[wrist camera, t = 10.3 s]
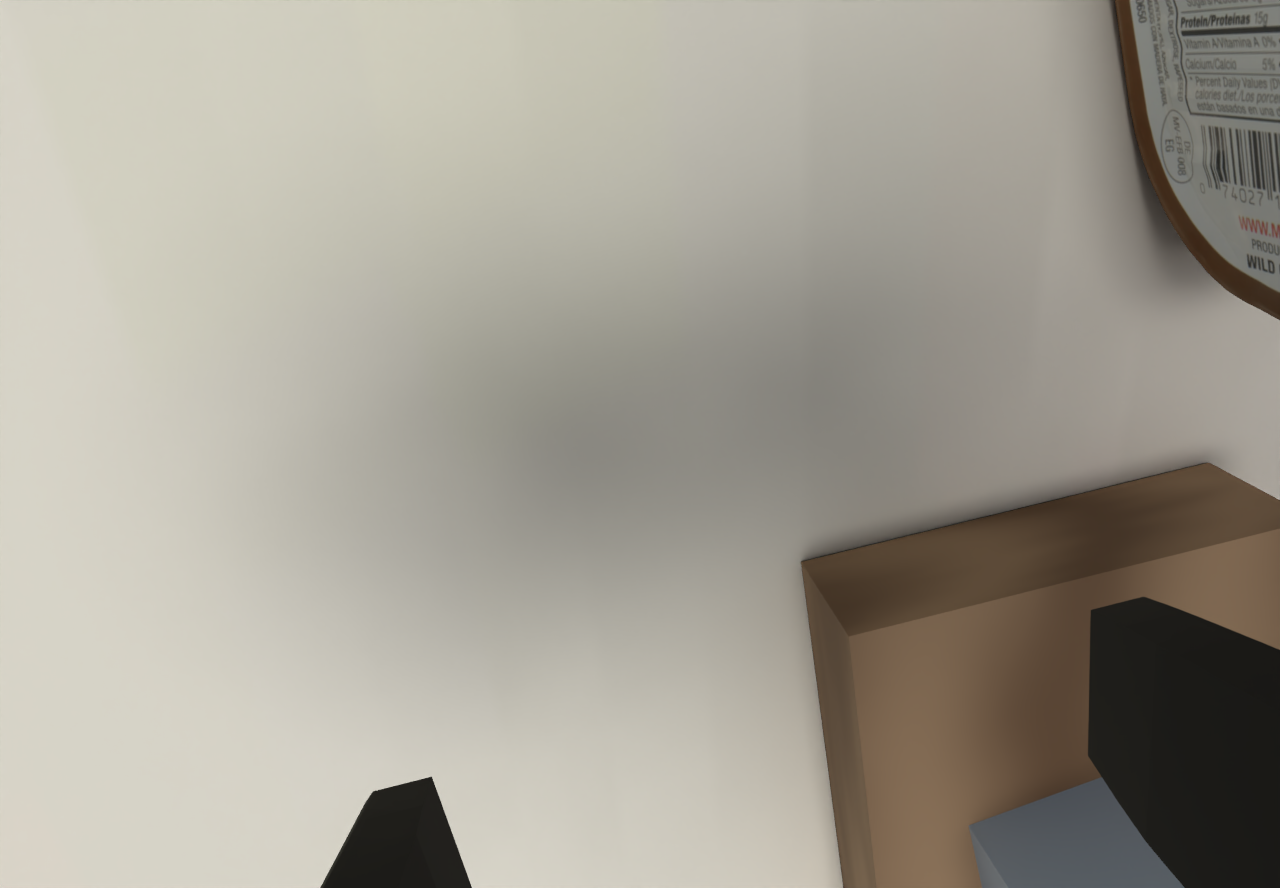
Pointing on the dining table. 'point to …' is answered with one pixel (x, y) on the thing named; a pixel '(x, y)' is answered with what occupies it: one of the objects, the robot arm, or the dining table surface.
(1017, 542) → the plinth
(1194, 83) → the tin
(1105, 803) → the block
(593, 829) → the dining table surface
